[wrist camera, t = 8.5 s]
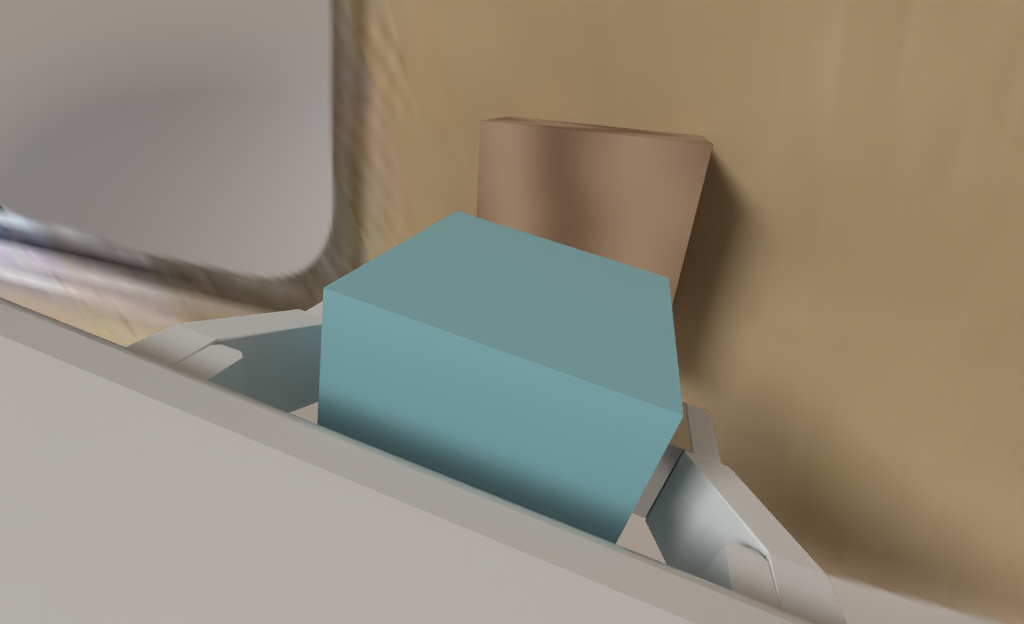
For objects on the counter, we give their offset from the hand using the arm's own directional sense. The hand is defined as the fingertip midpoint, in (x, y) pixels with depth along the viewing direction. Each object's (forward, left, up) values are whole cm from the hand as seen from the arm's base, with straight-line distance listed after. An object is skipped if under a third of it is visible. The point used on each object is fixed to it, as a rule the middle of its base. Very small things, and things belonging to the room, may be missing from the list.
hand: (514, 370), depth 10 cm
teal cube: (0, 0, -2) cm, 2 cm away
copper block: (0, +1, -18) cm, 18 cm away
